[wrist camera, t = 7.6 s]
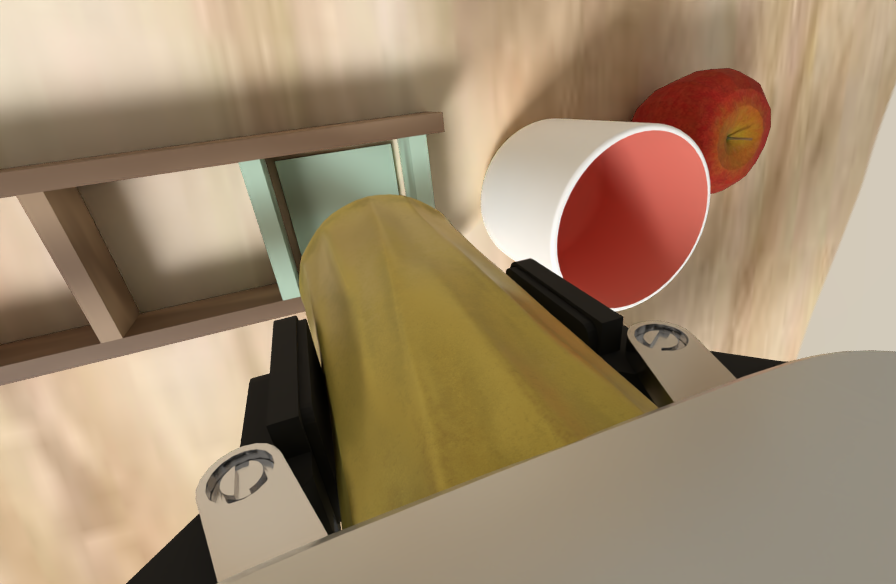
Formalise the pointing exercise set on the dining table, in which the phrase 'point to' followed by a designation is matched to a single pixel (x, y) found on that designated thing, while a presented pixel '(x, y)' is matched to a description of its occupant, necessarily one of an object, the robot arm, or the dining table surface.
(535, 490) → the robot arm
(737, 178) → the apple
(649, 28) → the dining table surface
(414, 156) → the wooden compartment tray
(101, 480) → the dining table surface
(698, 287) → the dining table surface
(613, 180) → the cup
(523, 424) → the vase
